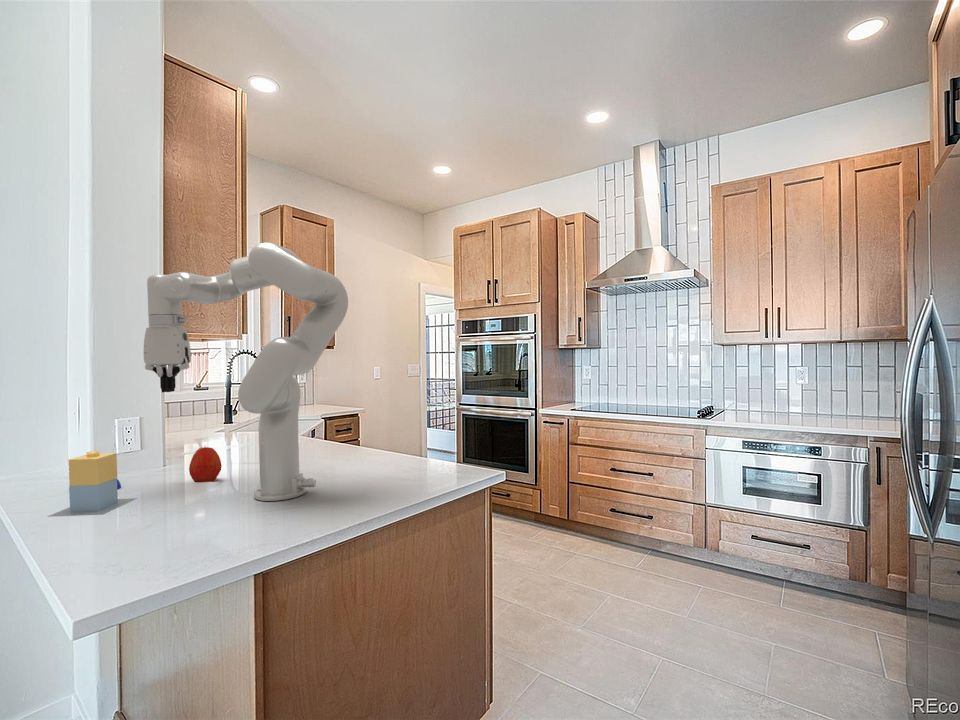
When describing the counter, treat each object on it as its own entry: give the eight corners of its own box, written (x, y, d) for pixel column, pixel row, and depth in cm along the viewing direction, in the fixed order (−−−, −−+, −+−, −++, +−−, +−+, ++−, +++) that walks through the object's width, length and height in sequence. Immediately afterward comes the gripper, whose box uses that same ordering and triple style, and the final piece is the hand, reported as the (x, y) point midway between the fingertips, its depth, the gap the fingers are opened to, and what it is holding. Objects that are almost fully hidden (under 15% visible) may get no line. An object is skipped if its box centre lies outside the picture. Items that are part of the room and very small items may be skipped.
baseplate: (137, 503, 123) (136, 494, 123) (103, 519, 111) (103, 509, 111) (87, 504, 123) (86, 496, 122) (47, 521, 111) (47, 511, 110)
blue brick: (117, 502, 120) (116, 473, 120) (99, 510, 114) (97, 480, 114) (90, 503, 120) (89, 474, 120) (70, 511, 113) (68, 481, 113)
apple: (228, 481, 143) (227, 444, 143) (199, 488, 136) (197, 449, 136) (212, 477, 147) (211, 441, 147) (183, 484, 140) (182, 446, 140)
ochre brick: (117, 477, 120) (116, 448, 120) (98, 484, 114) (97, 454, 114) (90, 478, 120) (88, 449, 120) (69, 485, 113) (68, 455, 113)
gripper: (202, 322, 135) (204, 389, 135) (145, 323, 134) (147, 391, 134) (187, 321, 127) (189, 392, 127) (126, 322, 126) (129, 393, 127)
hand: (168, 391), depth 131 cm, fingers closed
